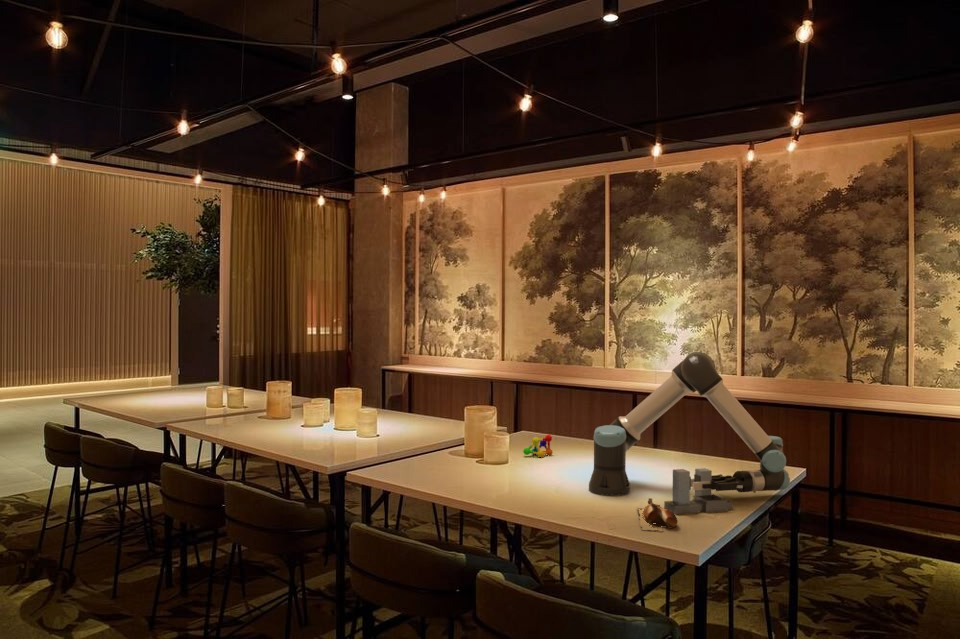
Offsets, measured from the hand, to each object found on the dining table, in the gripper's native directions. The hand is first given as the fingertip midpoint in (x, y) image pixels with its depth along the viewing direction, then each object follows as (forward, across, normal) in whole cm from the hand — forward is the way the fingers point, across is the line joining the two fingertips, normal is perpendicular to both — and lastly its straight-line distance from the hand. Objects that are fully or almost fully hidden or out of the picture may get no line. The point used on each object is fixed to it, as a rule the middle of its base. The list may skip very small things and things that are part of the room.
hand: (689, 484), depth 240 cm
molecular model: (+26, +86, -6) cm, 90 cm away
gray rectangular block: (-5, 0, -6) cm, 8 cm away
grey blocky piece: (+2, -10, -6) cm, 11 cm away
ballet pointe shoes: (+21, -17, -7) cm, 28 cm away
